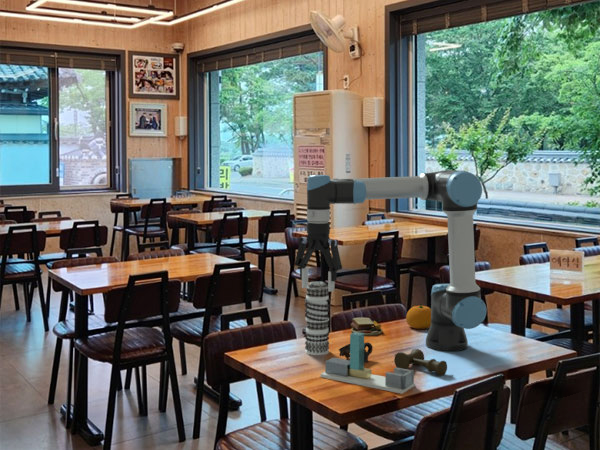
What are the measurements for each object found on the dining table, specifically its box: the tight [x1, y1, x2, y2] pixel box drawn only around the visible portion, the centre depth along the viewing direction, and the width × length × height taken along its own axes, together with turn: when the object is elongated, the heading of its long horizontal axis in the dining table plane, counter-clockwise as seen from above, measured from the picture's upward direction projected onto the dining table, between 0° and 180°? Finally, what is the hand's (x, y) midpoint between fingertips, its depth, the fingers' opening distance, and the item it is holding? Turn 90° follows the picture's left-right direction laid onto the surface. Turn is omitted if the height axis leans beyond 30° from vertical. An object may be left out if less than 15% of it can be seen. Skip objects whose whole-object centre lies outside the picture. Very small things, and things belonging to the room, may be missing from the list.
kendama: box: [393, 348, 448, 377], centre depth 244 cm, size 6×10×20 cm
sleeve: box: [324, 357, 350, 377], centre depth 237 cm, size 8×5×4 cm, turn 56°
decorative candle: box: [304, 281, 331, 356], centre depth 264 cm, size 9×9×25 cm
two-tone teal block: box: [348, 332, 372, 379], centre depth 234 cm, size 14×3×13 cm, turn 56°
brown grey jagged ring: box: [338, 342, 374, 365], centre depth 254 cm, size 12×10×8 cm
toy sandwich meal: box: [350, 317, 384, 337], centre depth 294 cm, size 12×14×5 cm
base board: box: [320, 371, 416, 395], centre depth 232 cm, size 28×9×1 cm, turn 56°
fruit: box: [405, 303, 431, 330], centre depth 301 cm, size 12×12×10 cm
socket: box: [385, 366, 415, 390], centre depth 225 cm, size 6×7×4 cm
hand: (317, 289), depth 246 cm, fingers open, 10 cm apart
